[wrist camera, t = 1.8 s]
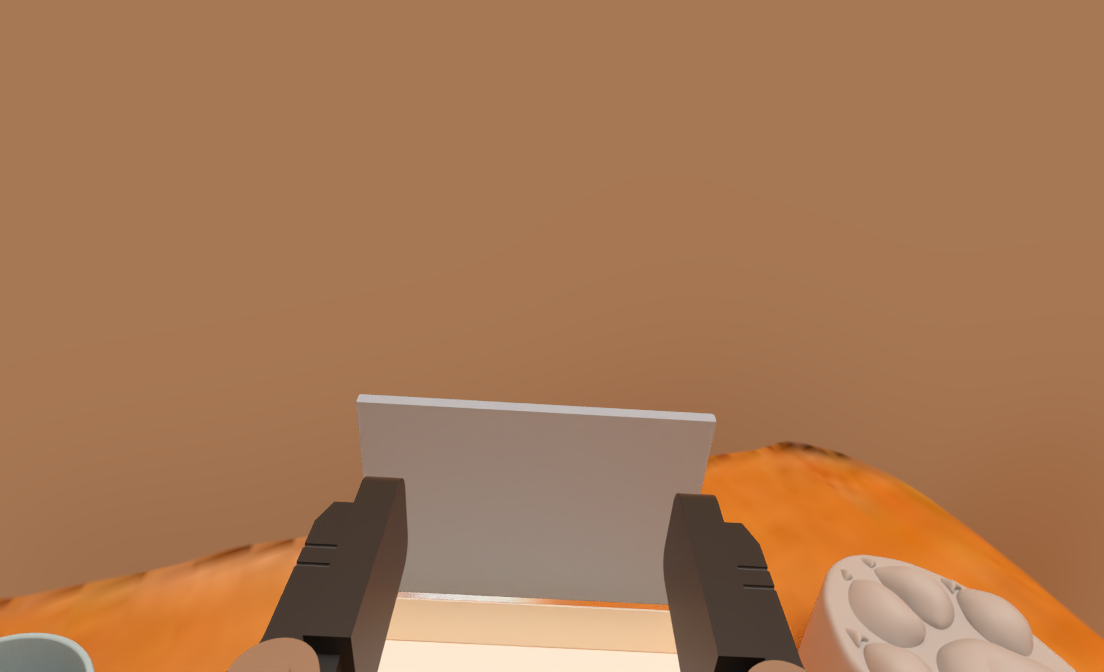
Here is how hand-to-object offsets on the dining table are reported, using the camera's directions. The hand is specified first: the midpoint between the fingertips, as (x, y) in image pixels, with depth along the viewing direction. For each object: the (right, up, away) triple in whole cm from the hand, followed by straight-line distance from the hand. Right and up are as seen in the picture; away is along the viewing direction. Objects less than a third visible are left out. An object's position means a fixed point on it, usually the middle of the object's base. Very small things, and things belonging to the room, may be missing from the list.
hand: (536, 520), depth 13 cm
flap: (-1, -10, +23) cm, 25 cm away
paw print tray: (+20, -19, +24) cm, 36 cm away
